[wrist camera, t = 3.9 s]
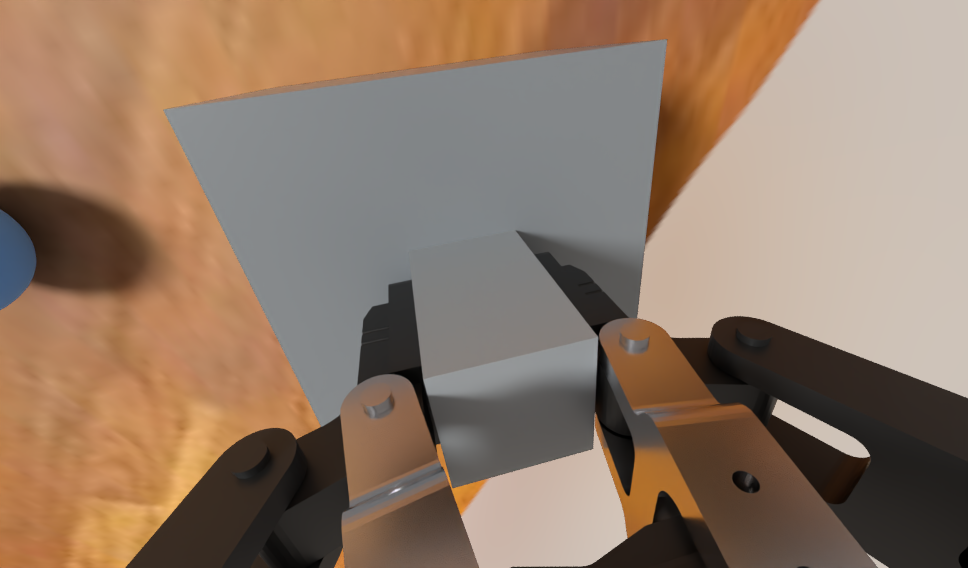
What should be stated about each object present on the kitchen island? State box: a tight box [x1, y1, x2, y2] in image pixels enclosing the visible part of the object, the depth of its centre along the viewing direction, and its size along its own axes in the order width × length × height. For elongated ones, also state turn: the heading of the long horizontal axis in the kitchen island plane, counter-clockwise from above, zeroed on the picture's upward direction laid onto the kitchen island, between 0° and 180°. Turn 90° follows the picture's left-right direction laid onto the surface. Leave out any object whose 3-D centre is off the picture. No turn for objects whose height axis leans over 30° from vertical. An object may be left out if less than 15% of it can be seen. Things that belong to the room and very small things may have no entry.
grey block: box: [164, 39, 667, 488], centre depth 13 cm, size 11×11×14 cm
